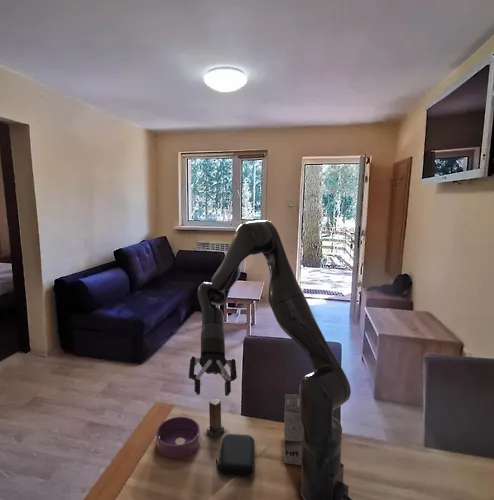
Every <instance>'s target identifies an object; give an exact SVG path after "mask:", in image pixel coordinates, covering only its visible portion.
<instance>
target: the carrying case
mask: <svg viewBox="0 0 494 500" xmlns="http://www.w3.org/2000/svg"><path fill="white" fill-rule="evenodd" d="M215 466H216V469H217V471H219V473H220V474H222V475H223V476H227V477H237V478H238V477H239V478H249V477H251V476H252V475H253V474H254V472H255V438H254V437H253V436H252V435H250V434H239V433H227V434H225V435H224V436H223V437H222V440H221V446H220V453H219V458H218V459H217V457H216V458H215Z"/></svg>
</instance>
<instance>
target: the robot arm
mask: <svg viewBox="0 0 494 500" xmlns="http://www.w3.org/2000/svg"><path fill="white" fill-rule="evenodd" d="M260 254H261V255H263V257H264V259H265V261H266V264H267V266H268V270H269V283H268V303H269V306H270V308H271V311H272V313H273V316H274V318H275V320H276V322H277V324H278V326H279V327H280V328H281V330H282V331H283V332H284V333H285V334H286V335H287V336H289V337H290V338H291V339H292V340H293V341H294V342H295V343H296V344H297V345H299V347H300V348H302V350H303V351H304V353H305V354H306V356H307V358H308V359H309V362H310V364H311V366H312V368H313V371H312V372H310V373H308V374H306V375H304V376H303V377H302V378H301V380H300V383H299V387H298V395H299V412H300V420H301V423H302V426H303V431H302V464H301V465H300V466H301V467H300V488H299V489H300V491H299V493H300V496H301V498H302V500H353V499H352V498H351V497H349V485H347V484H346V483H344V468H345V466H344V464H343V463H342V443H343V441H342V440H343V427H342V424H341V422H340V421H339V420H338V419H337V418H336V417H335V416H333V415H334V414H333V413H334V411H335V410H336V409H338V408H340V407H341V406H342V405H344V404H345V403H347V402H348V401H349V400H350V397H351V391H352V390H351V384H350V381H349V379H348V377H347V375H346V373H345V371H344V369H343V368H342V366H341V364H340V363H339V361H338V359H337V358H336V356H335V354H334V353H333V351H332V350H331V347H330V345H329V344H328V342H327V340H326V339H325V336H324V335H323V332H322V330H321V327H320V326H319V324H318V323H317V321H316V318H315V316H314V314H313V312H312V309H311V306H310V305H309V303H308V301H307V300H308V299H306V296H305V293H304V292H303V290H302V288H301V286H300V285H299V282H298V280H297V278H296V276H295V272H294V271H293V268H292V266H291V263H290V262H289V259H288V256H287V253H286V250H285V248H284V244H283V242H282V240H281V236H280V234H279V231H278V229H277V228H276V226H275V225H274V224H273V223H272V222H271V221H269V220H253V221H246V222H243V223H241V224H240V225H239V226H237V229H236V230H235V233H234V234H233V237H232V239H231V242H230V244H229V247H228V248H227V251H226V254H225V256H224V258H223V261H222V263H221V264H220V265H219V267H218V268H217V270H216V271H215V272H214V274H213V275H212V277H211V282H208V281H206V282H205V281H204V282H201V284H199V286H198V288H197V292H196V293H197V294H196V295H197V300H198V303H199V307H200V312H201V333H200V357H199V358H198V357H195V356H191V358H190V359H189V369H188V379H189V380H192V381H194V389H193V390H194V393H196V395H197V396H199V395H200V394H201V377H202V376H203V375H204V374H205V373H206V374H207V375H211V374H213V375H218V374H219V376H220V377H221V378H222V379H223V380H224V396H225V397H228V396H229V395H230V394H231V392H232V390H231V389H232V385H231V384H232V383H231V382H234V381H235V380H236V379H237V378H238V375H237V364H236V359H235V358H232V359H226V344H225V343H226V342H225V341H226V340H225V339H226V337H225V335H226V334H225V328H224V321H225V320H224V312H223V309H221V308H219V307H216V306H223V305H225V304H226V303H227V301H228V298H229V294H230V291H231V288H232V287H233V286H234V285H235V284H236V282H238V280H239V277H240V276H241V271H242V265H241V263H242V262H243V261H244V260H245V259H246V258H248V257H249V256H255V255H260ZM198 363H199V365H200V367H201V369H200V371H199V372H198V373H197V374H196V373H195V367H196V366H197V365H198ZM226 365H227V367H228V368H229V371H230V374H229V373H228V371H227V369H226V368H225V366H226Z"/></svg>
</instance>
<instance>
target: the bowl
mask: <svg viewBox="0 0 494 500" xmlns="http://www.w3.org/2000/svg"><path fill="white" fill-rule="evenodd" d="M155 435H156V436H155V438H156V439H155V440H156V449H157V451H158V453H160V454H161V455H162V456H163V457H166V458H169V459H182V458H186V457H188V456H190V455H192V454H193V453H194V452H196V450H197V449H198V448H199V446H200V443H201V429H200V424H198V422H197V421H196V420H195V419H193V418H191V417H187V416H174V417H171V418H168V419H166V420H165V421H162V423H160V425H158V427H157V429H156V432H155ZM178 438H183V439H185V444H181V445H175V441H176V439H178Z"/></svg>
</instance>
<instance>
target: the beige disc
mask: <svg viewBox="0 0 494 500" xmlns="http://www.w3.org/2000/svg"><path fill="white" fill-rule="evenodd" d="M181 444H185V439H183V438H178V439H176V441H175V445H181Z"/></svg>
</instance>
